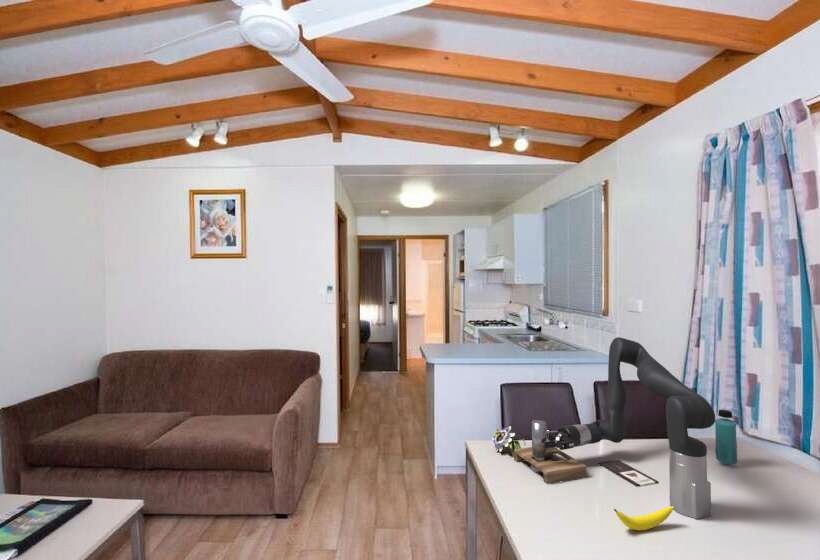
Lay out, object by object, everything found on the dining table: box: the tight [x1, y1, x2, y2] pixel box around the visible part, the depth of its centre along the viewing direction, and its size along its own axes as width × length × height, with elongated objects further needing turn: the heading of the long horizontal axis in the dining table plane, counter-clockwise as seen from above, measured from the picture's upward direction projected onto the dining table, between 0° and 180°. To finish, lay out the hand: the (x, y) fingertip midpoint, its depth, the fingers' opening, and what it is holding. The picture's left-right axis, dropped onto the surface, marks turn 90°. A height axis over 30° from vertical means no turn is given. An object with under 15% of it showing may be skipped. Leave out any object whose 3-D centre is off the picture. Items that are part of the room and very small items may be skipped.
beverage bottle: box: [714, 409, 738, 466], centre depth 151 cm, size 6×7×20 cm
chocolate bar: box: [597, 459, 659, 488], centre depth 144 cm, size 9×1×18 cm
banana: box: [613, 506, 674, 531], centre depth 111 cm, size 3×19×6 cm, turn 102°
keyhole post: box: [530, 419, 548, 474], centre depth 147 cm, size 6×6×17 cm
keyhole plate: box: [513, 446, 587, 485], centre depth 148 cm, size 20×16×4 cm
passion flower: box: [491, 425, 526, 457], centre depth 163 cm, size 11×11×12 cm
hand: (537, 440), depth 147 cm, fingers open, 8 cm apart
